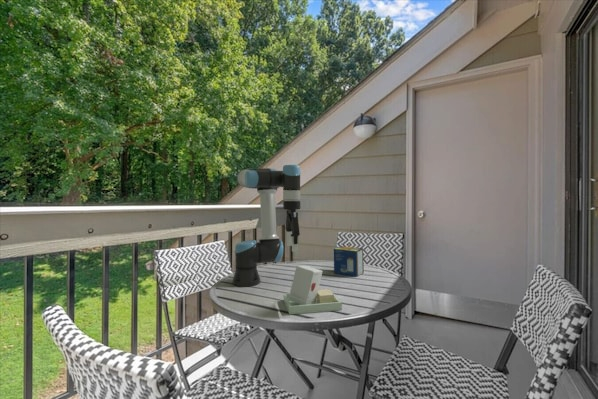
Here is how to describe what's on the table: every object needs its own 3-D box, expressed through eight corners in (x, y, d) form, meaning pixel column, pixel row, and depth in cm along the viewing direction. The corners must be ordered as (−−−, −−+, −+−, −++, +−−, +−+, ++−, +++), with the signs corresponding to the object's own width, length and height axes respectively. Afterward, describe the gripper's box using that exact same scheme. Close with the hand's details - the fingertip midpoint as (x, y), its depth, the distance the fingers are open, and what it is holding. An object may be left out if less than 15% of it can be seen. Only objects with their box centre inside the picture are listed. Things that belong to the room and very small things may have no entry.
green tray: (283, 302, 142) (283, 293, 142) (330, 298, 146) (330, 290, 146) (289, 316, 125) (289, 306, 125) (341, 312, 129) (341, 302, 129)
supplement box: (305, 307, 128) (313, 271, 129) (287, 299, 133) (295, 265, 134) (315, 304, 136) (323, 270, 137) (298, 297, 141) (306, 264, 141)
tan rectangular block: (315, 301, 140) (315, 290, 140) (328, 300, 141) (328, 289, 141) (320, 307, 132) (320, 295, 132) (334, 306, 133) (333, 294, 133)
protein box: (341, 270, 200) (341, 246, 200) (363, 273, 191) (363, 248, 191) (333, 273, 192) (333, 248, 192) (356, 277, 183) (356, 250, 183)
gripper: (306, 201, 125) (307, 253, 126) (294, 199, 149) (295, 243, 150) (288, 201, 124) (288, 254, 124) (279, 199, 148) (279, 243, 149)
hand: (292, 248), depth 137 cm, fingers open, 13 cm apart
